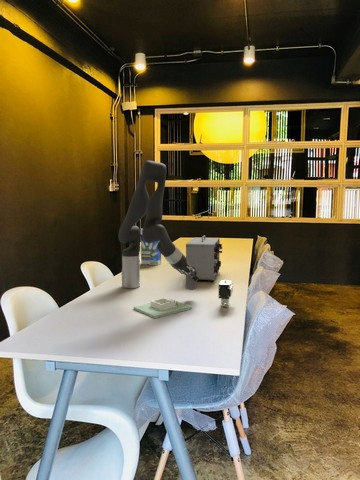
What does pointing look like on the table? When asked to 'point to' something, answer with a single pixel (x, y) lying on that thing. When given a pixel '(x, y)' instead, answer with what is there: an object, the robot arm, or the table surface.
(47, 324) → the table surface
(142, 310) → the board
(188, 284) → the grey rectangular block
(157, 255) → the string lights box
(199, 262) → the vintage electronic device
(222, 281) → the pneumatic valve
